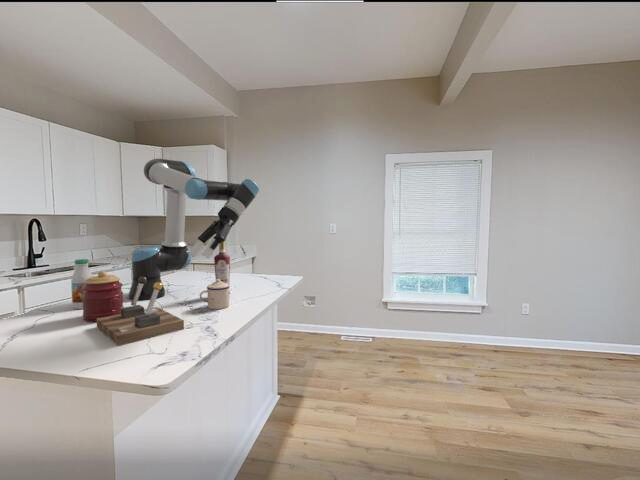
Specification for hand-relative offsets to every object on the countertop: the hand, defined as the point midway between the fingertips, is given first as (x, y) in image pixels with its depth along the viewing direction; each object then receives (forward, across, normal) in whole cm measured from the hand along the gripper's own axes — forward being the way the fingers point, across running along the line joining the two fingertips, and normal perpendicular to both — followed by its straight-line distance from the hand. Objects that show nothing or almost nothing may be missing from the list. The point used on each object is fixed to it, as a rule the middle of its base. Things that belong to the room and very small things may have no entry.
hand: (197, 255), depth 120 cm
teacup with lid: (+10, +15, -24) cm, 30 cm away
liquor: (+2, +30, -31) cm, 43 cm away
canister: (+34, +29, +5) cm, 45 cm away
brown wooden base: (+30, +7, -2) cm, 31 cm away
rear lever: (+26, +13, +3) cm, 29 cm away
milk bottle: (+35, +50, +10) cm, 61 cm away
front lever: (+25, -1, +2) cm, 25 cm away
